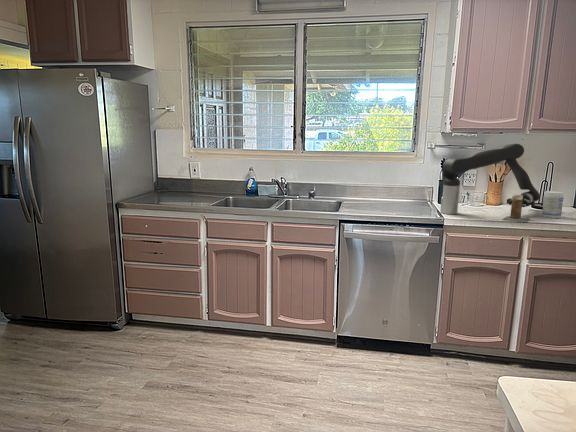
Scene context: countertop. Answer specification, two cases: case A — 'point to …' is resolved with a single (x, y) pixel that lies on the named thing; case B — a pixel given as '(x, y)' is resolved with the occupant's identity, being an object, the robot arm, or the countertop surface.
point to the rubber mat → (516, 219)
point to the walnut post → (516, 206)
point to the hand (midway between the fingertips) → (518, 203)
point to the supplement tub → (552, 204)
